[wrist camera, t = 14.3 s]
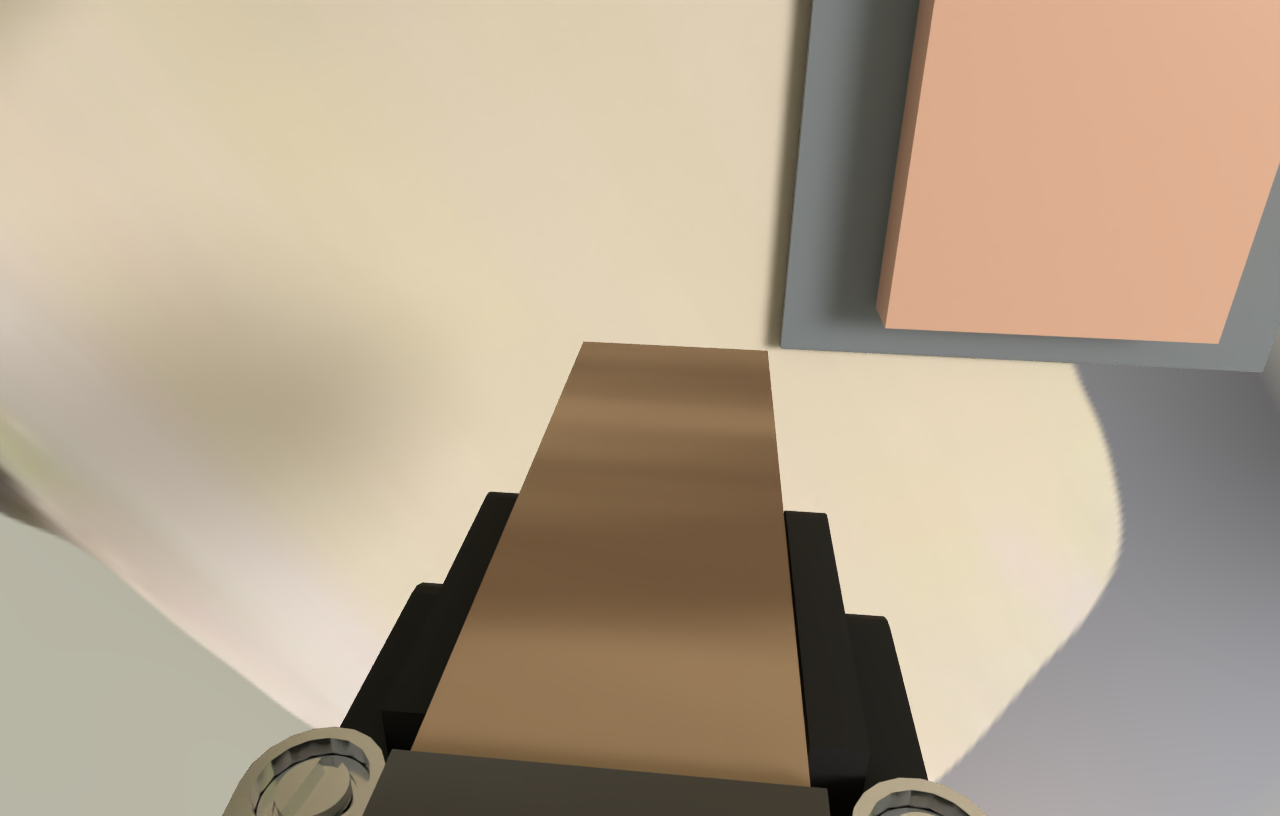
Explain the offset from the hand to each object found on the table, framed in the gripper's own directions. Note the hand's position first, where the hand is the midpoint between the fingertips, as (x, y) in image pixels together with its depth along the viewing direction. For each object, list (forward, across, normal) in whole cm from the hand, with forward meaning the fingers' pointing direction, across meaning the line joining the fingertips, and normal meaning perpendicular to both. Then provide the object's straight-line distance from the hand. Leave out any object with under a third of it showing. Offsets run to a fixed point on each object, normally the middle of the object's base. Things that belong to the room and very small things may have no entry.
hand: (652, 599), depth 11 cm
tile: (+18, -11, -9) cm, 23 cm away
